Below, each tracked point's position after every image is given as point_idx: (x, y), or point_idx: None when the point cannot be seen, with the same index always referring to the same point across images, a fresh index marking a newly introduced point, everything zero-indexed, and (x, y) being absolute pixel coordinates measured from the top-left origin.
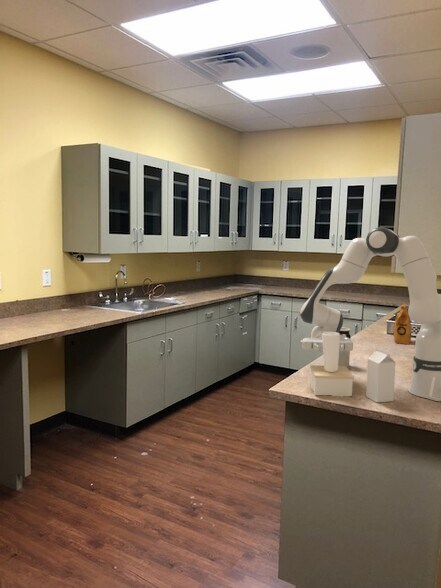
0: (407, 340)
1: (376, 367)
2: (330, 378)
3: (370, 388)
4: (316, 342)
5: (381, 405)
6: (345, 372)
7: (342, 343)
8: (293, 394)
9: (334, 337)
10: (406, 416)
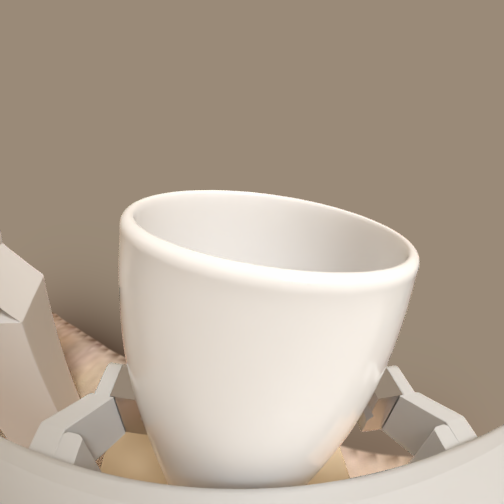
0: None
1: (44, 304)
2: None
3: None
4: (456, 448)
5: (81, 388)
6: (132, 474)
7: (34, 453)
8: (386, 458)
9: (231, 216)
10: (71, 333)
